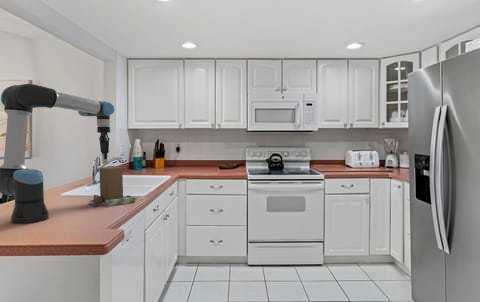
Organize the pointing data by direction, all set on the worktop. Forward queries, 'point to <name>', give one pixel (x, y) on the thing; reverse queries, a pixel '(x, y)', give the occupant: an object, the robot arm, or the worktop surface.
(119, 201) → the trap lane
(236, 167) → the worktop surface
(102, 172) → the block
